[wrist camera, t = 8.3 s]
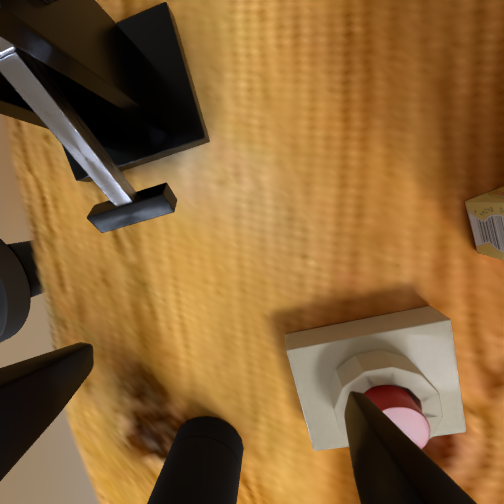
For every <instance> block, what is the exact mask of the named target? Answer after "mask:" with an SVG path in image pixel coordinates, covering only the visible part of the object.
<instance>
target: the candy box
mask: <svg viewBox="0 0 504 504" xmlns="http://www.w3.org/2000/svg"><path fill="white" fill-rule="evenodd" d="M465 205H466V209H467V213H468V217H469V221H470V225H471V229H472V232H473V236H474V240H475V244H476V249H477V252H478V253H480V254H483V255H487V256H490V257H494V258H498V259H501V260H504V186H503V187H501V188H498V189H495V190H493V191H490V192H487V193H485V194H482V195H480V196H477V197H474V198H472V199H469V200H467V201H466V202H465Z"/></svg>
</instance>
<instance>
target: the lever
mask: <svg viewBox="0 0 504 504" xmlns="http://www.w3.org/2000/svg"><path fill="white" fill-rule="evenodd" d="M0 72H1V73H2V74H3V76H4V77H5V78H6V79H7V80H8V81H9V83H10V84H11V85H12V86H13V87H14V89H15V90H16V91H17V92H18V93H19V94H20V96H21V97H22V98H23V99H24V100H25V101H26V103H27V104H28V105H29V106H30V107H31V108H32V110H33V111H34V112H35V113H36V114H37V115H38V117H39V118H40V119H41V120H42V121H43V122H44V124H45V125H46V126H47V127H48V128H49V129H50V131H51V132H52V133H53V134H54V135H55V136H56V138H57V139H58V140H59V141H60V142H61V143H62V145H63V146H64V147H65V148H66V149H67V150H68V152H69V153H70V154H71V155H72V156H73V157H74V159H75V160H76V161H77V162H78V163H79V164H80V166H81V167H82V168H83V169H84V170H85V171H86V173H87V174H88V175H89V176H90V177H91V178H92V180H93V181H94V182H95V183H96V184H97V185H98V187H99V188H100V189H101V190H102V191H103V192H104V194H105V195H106V196H107V197H108V198H109V199H110V200H109V201H106V202H103V203H99V204H96V205H94V207H93V208H92V210H91V211H90V213H89V214H88V216H87V219H88V220H89V221H90V222H91V223H92V224H93V225H94V226H95V227H96V228H97V229H98V230H99V231H100V232H101V233H104V232H107V231H111V230H114V229H118V228H121V227H125V226H128V225H131V224H135V223H138V222H142V221H145V220H149V219H152V218H155V217H159V216H162V215H166V214H169V213H173V212H174V211H175V207H176V203H177V198H176V197H175V195H174V193H173V192H172V190H171V189H170V187H169V185H168V184H167V183H163V184H160V185H157V186H154V187H151V188H147V189H144V190H141V191H138V192H136V191H135V190H134V188H133V187H132V186H131V184H130V183H129V182H128V180H127V179H126V178H125V176H124V175H123V173H122V172H121V171H120V169H119V168H118V167H117V165H116V164H115V163H114V161H113V160H112V159H111V157H110V156H109V155H108V153H107V152H106V150H105V149H104V148H103V146H102V145H101V144H100V142H99V141H98V140H97V138H96V137H95V136H94V134H93V133H92V132H91V130H90V129H89V127H88V126H87V125H86V123H85V122H84V121H83V119H82V118H81V117H80V115H79V114H78V113H77V111H76V110H75V109H74V107H73V106H72V104H71V103H70V102H69V100H68V99H67V98H66V96H65V95H64V94H63V92H62V91H61V90H60V88H59V87H58V86H57V84H56V83H55V81H54V80H53V79H52V77H51V76H50V75H49V73H48V72H47V71H46V69H45V68H44V67H43V65H42V64H41V63H40V61H39V60H38V59H36V58H35V57H33V56H31V55H30V54H28V53H26V52H25V51H23V50H21V49H20V48H18V47H16V46H15V45H13V44H11V43H10V42H8V41H6V40H5V39H3V38H1V37H0Z"/></svg>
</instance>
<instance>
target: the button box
mask: <svg viewBox="0 0 504 504" xmlns="http://www.w3.org/2000/svg"><path fill="white" fill-rule="evenodd" d="M285 342H286V352H287V356H288V359H289V363H290V367H291V370H292V374H293V378H294V381H295V385H296V389H297V392H298V396H299V399H300V403H301V407H302V410H303V414H304V418H305V421H306V425H307V429H308V432H309V436H310V439H311V443H312V447H313V450H314V451H318V450H326V449H334V448H342V447H349V444H348V438H347V432H346V426H345V419H344V412H345V408H346V403H347V399H348V395H349V393H350V392H351V391H355V392H361V393H364V392H366V391H367V390H369V389H370V388H372V387H375V386H379V385H393V386H397V387H399V388H401V389H403V390H405V391H406V392H407V393H408V394H409V395H410V396H411V397H412V399H413V400H414V401H415V403H416V404H417V406H418V407H419V409H420V410H421V412H422V413H423V414H424V416H425V417H426V419H427V420H428V423H429V425H430V437H429V439H430V438H431V437H433V436H439V435H447V434H455V433H463V432H466V426H465V419H464V412H463V405H462V398H461V390H460V383H459V376H458V369H457V362H456V354H455V347H454V340H453V333H452V326H451V320H450V319H449V318H448V317H446V316H445V315H443V314H442V313H440V312H439V311H437V310H436V309H434V308H433V307H431V306H426V307H421V308H416V309H411V310H406V311H401V312H396V313H391V314H386V315H381V316H376V317H370V318H365V319H360V320H355V321H350V322H345V323H340V324H335V325H330V326H325V327H320V328H315V329H310V330H305V331H300V332H295V333H289V334H285Z"/></svg>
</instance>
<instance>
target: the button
mask: <svg viewBox="0 0 504 504" xmlns="http://www.w3.org/2000/svg"><path fill="white" fill-rule="evenodd" d="M364 394H365V395H366V396H367V397H368V398H369V399H370V400H371V401H372V402H373V403H374V404H375V405H376V406H377V407H378V408H379V409H380V410H381V411H382V412H383V413H384V414H386V415H387V416H388V417H389V418H390V419H391V420H392V421H393V422H394V423H395V424H396V425H397V426H398V427H399V428H400V429H401V430H402V431H403V432H404V433H405V434H406V435H407V436H408V437H409V438H410V439H411V440H412V441H413V442H414V443H415V444H416V445H417V446H418V447H419V448H420V449H422V448H423V447H424V446H425V445H426V444H427V442H428V440H429V437H430V425H429V423H428V420H427V419H426V417H425V416H424V414H423V413H422V412H421V410H420V409H419V407H418V406H417V404H416V403H415V401H414V400H413V399H412V397H411V396H410V395H409V394H408V393H407V392H406V391H405V390H403V389H401V388H399V387H397V386H393V385H379V386H375V387H372V388H370V389H369V390H367V391H366V392H364Z"/></svg>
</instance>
